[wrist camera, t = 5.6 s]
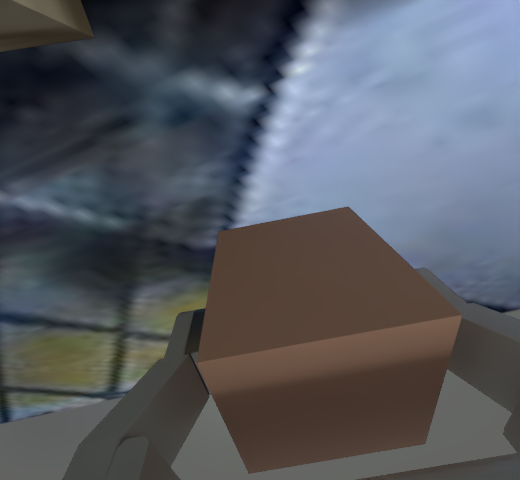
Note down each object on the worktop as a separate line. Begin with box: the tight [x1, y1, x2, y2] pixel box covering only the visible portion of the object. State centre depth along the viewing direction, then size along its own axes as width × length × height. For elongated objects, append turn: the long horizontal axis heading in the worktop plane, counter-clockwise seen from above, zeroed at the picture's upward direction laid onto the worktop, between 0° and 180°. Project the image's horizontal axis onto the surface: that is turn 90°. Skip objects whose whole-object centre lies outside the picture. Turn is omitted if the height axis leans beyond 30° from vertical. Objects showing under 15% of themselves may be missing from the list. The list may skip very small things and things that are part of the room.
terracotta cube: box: [197, 207, 462, 473], centre depth 7 cm, size 4×4×5 cm
